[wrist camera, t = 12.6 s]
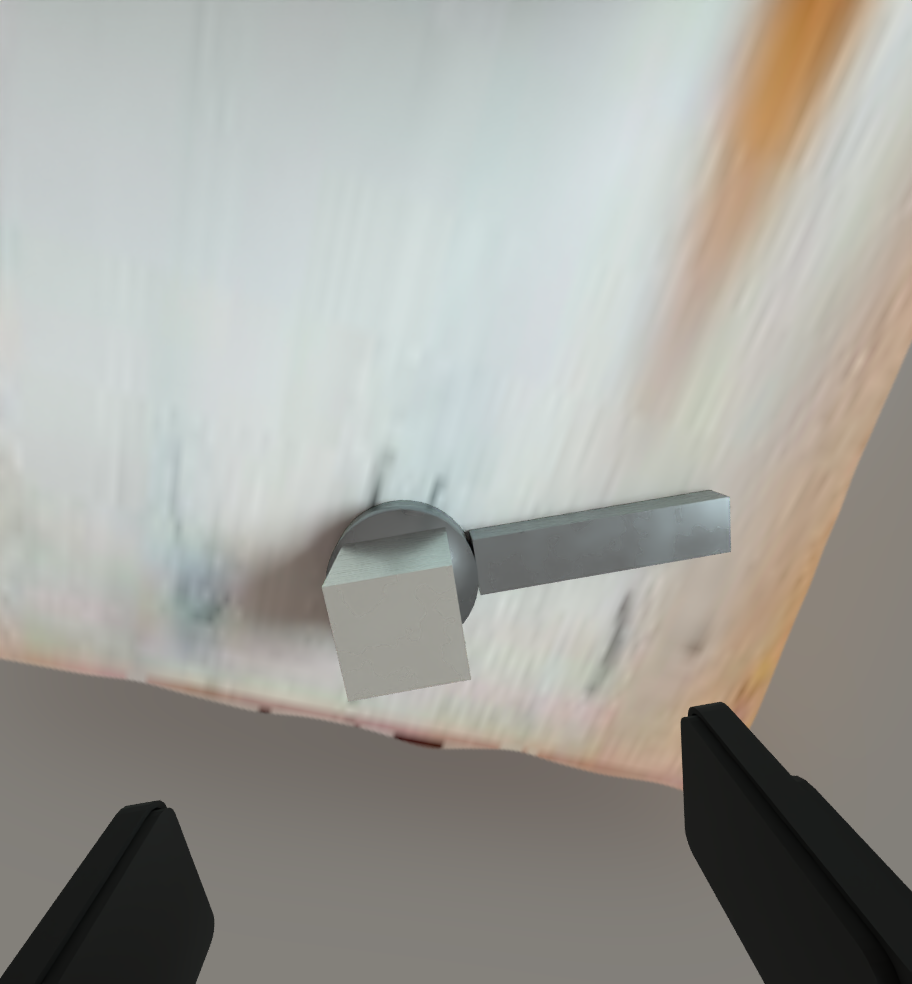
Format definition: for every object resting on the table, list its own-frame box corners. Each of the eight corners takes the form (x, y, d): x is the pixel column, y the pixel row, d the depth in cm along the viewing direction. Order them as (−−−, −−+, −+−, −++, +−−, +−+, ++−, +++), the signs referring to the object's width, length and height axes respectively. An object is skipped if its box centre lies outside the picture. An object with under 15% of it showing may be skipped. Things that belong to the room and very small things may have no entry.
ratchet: (709, 449, 30) (771, 462, 25) (712, 578, 32) (770, 616, 27) (320, 513, 29) (297, 541, 24) (348, 642, 31) (334, 694, 26)
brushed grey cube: (445, 527, 27) (452, 564, 22) (460, 620, 29) (471, 679, 23) (342, 544, 27) (321, 587, 21) (363, 637, 29) (348, 701, 23)
